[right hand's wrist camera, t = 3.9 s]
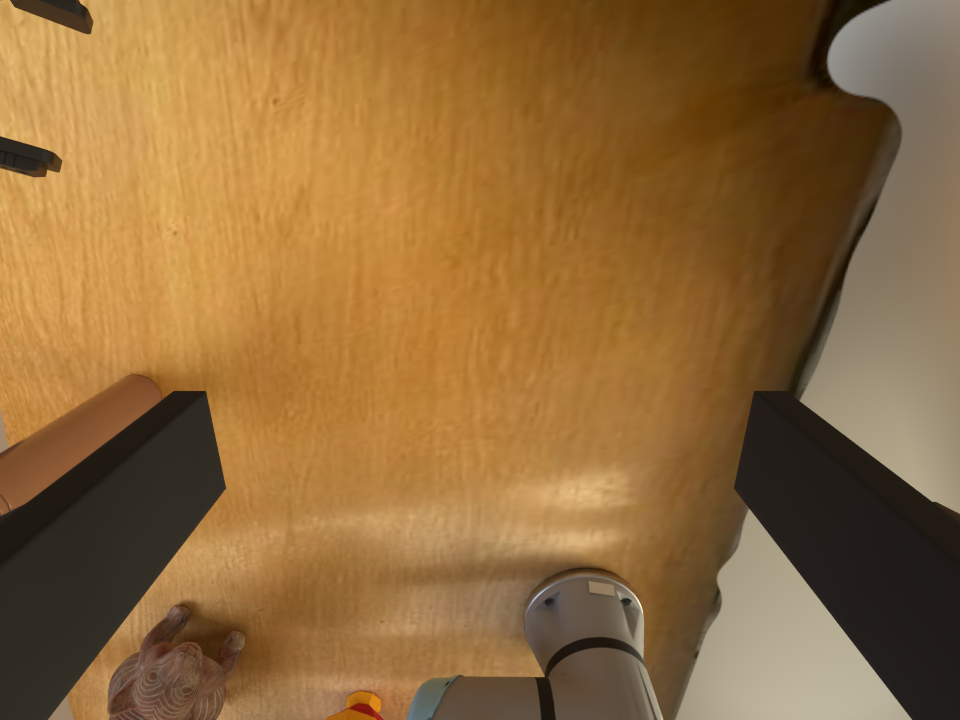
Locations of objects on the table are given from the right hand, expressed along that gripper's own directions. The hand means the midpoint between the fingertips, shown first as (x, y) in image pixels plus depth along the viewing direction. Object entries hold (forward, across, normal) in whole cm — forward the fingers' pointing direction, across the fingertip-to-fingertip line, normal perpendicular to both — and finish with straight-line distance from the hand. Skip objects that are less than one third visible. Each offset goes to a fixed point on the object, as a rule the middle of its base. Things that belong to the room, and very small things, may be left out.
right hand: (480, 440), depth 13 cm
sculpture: (+41, +38, +53) cm, 77 cm away
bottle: (+41, +37, +18) cm, 58 cm away
